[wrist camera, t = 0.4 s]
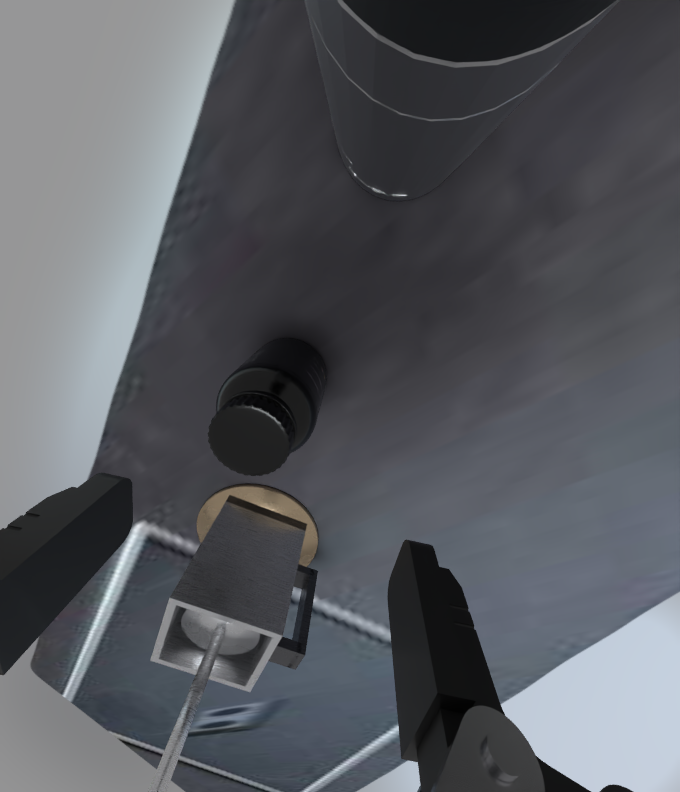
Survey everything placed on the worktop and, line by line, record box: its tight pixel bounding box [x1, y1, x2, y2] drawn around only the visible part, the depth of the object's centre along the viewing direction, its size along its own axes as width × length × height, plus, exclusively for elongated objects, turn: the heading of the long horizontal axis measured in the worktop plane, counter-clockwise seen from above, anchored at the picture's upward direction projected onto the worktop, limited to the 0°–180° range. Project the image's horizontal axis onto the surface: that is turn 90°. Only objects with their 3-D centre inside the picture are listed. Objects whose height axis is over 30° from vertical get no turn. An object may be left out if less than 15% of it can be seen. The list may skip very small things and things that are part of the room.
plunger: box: [148, 609, 261, 792], centre depth 21 cm, size 7×7×15 cm
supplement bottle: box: [208, 338, 327, 476], centre depth 23 cm, size 7×7×12 cm
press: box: [150, 484, 318, 692], centre depth 31 cm, size 14×14×12 cm
